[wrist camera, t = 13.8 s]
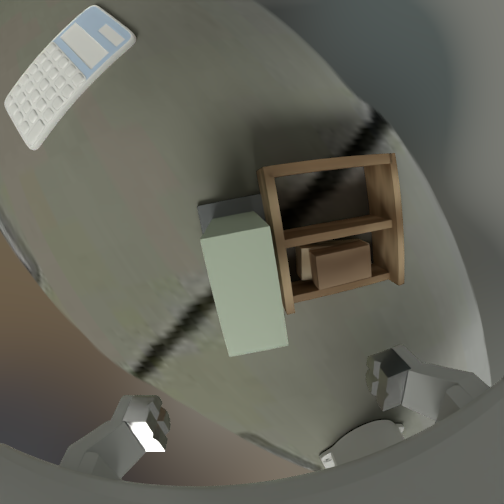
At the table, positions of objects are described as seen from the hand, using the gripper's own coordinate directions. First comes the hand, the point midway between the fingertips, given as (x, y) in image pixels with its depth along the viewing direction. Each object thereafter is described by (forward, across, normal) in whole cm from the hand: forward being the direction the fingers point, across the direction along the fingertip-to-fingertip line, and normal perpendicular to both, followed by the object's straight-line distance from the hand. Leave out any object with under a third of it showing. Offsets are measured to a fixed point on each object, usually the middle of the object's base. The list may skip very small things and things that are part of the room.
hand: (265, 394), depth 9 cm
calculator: (+22, +20, -30) cm, 42 cm away
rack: (+22, -10, -2) cm, 24 cm away
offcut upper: (+19, -10, +2) cm, 22 cm away
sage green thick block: (+22, 0, 0) cm, 22 cm away
